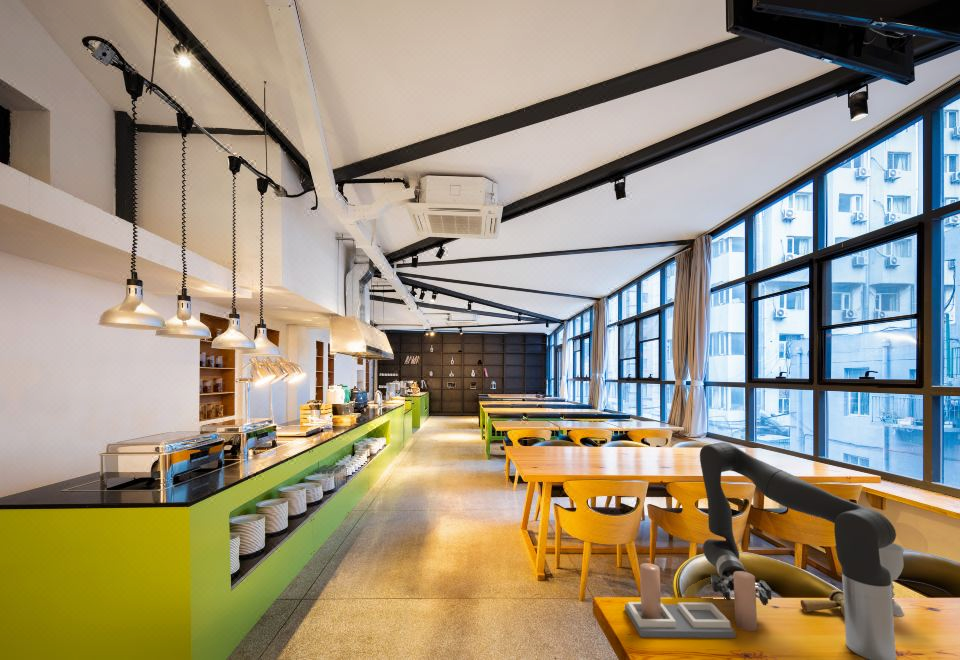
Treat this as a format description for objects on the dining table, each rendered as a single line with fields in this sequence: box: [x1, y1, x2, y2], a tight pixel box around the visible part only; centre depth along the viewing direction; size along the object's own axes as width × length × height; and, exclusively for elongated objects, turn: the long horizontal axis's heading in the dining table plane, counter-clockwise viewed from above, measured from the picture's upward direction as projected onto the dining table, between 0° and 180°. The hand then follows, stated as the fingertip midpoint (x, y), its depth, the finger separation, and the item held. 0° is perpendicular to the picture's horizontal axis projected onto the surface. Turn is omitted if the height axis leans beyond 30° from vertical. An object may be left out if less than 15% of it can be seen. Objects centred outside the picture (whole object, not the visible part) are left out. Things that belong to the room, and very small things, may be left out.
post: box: [733, 571, 758, 632], centre depth 121 cm, size 5×5×13 cm
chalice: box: [879, 542, 906, 617], centre depth 129 cm, size 7×7×18 cm
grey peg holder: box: [624, 562, 736, 639], centre depth 122 cm, size 24×13×14 cm, turn 90°
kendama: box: [800, 589, 845, 617], centre depth 127 cm, size 8×6×18 cm
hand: (746, 599), depth 120 cm, fingers open, 8 cm apart
